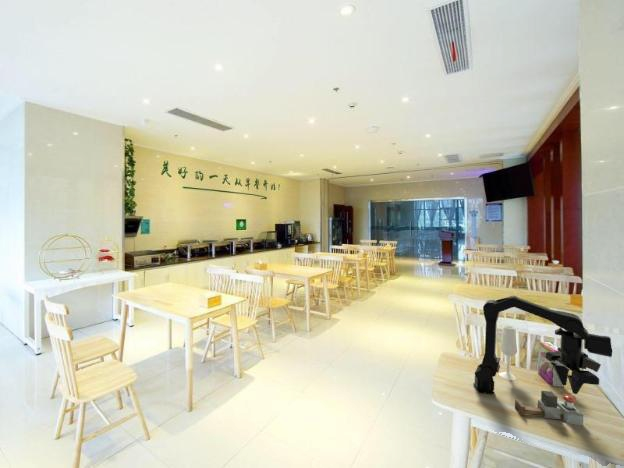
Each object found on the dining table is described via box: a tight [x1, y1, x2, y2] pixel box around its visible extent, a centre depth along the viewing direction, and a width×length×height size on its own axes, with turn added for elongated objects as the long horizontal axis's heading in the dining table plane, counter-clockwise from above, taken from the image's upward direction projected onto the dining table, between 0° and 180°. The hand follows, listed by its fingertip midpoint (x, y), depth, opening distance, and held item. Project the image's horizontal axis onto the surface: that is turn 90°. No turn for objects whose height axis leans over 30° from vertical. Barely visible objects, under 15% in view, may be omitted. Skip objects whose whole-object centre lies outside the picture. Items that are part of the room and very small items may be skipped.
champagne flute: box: [498, 324, 518, 381], centre depth 133 cm, size 7×7×24 cm
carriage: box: [537, 390, 561, 420], centre depth 106 cm, size 5×4×8 cm
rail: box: [514, 399, 563, 420], centre depth 106 cm, size 14×4×4 cm, turn 79°
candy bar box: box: [537, 340, 565, 388], centre depth 130 cm, size 11×5×16 cm, turn 168°
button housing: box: [557, 400, 585, 426], centre depth 105 cm, size 5×7×4 cm
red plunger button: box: [562, 393, 577, 411], centre depth 104 cm, size 4×4×5 cm
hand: (569, 389), depth 104 cm, fingers open, 5 cm apart
